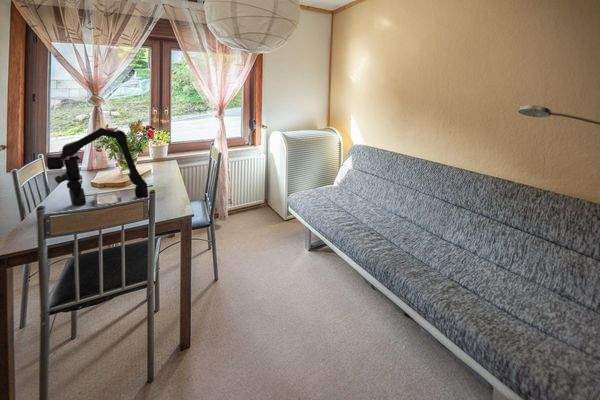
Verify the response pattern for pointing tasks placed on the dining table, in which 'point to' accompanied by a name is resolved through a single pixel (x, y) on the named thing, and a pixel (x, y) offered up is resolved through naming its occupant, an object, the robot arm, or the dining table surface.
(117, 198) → the track
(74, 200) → the supplement bottle
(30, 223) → the dining table surface
